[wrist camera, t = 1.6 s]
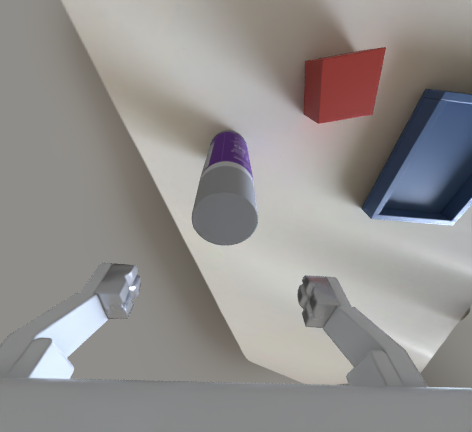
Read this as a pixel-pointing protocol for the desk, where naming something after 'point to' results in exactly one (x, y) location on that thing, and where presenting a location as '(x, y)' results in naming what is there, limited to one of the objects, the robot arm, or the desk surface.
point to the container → (226, 193)
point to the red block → (342, 85)
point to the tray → (428, 164)
